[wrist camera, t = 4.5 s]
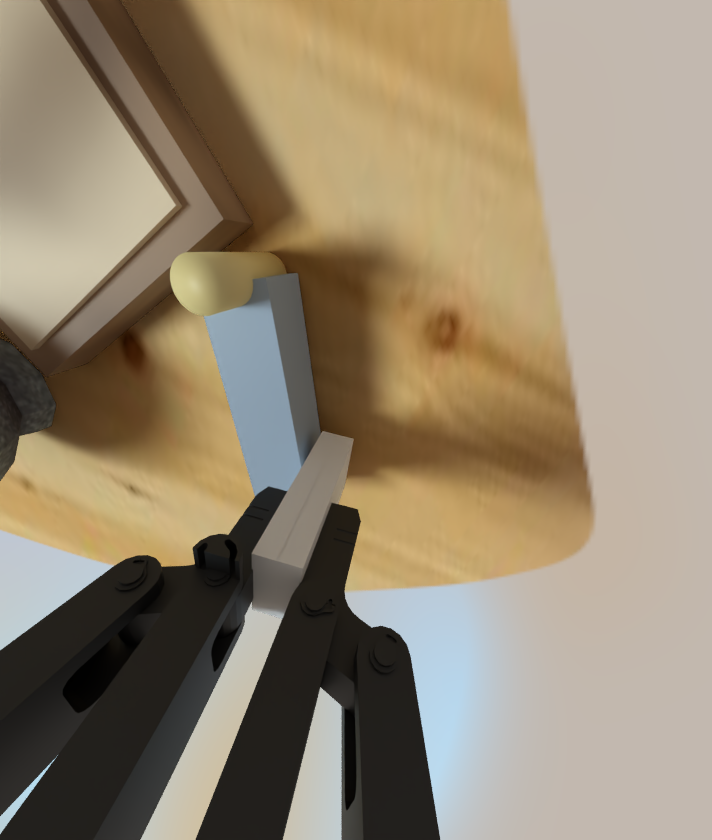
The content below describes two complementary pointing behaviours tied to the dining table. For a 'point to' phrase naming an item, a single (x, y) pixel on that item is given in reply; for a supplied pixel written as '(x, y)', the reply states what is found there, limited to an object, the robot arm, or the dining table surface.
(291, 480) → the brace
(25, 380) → the mortar and pestle
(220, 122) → the dining table surface
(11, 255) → the stand
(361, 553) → the dining table surface
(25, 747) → the robot arm
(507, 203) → the dining table surface
